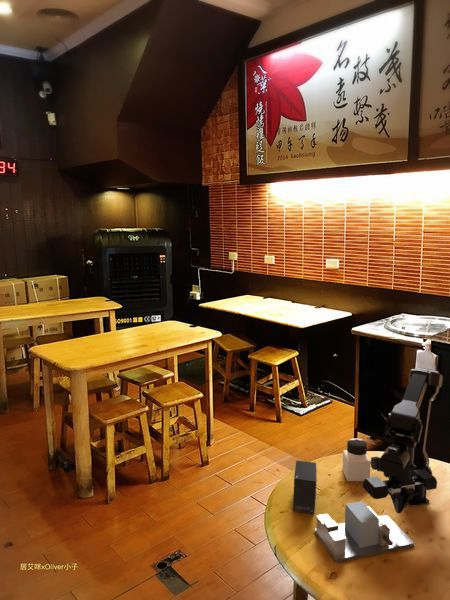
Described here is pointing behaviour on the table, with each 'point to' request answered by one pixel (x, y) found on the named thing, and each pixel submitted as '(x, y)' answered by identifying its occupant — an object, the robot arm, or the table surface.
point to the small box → (304, 487)
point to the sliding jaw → (383, 533)
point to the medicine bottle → (356, 460)
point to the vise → (345, 545)
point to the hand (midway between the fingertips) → (398, 512)
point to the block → (361, 524)
